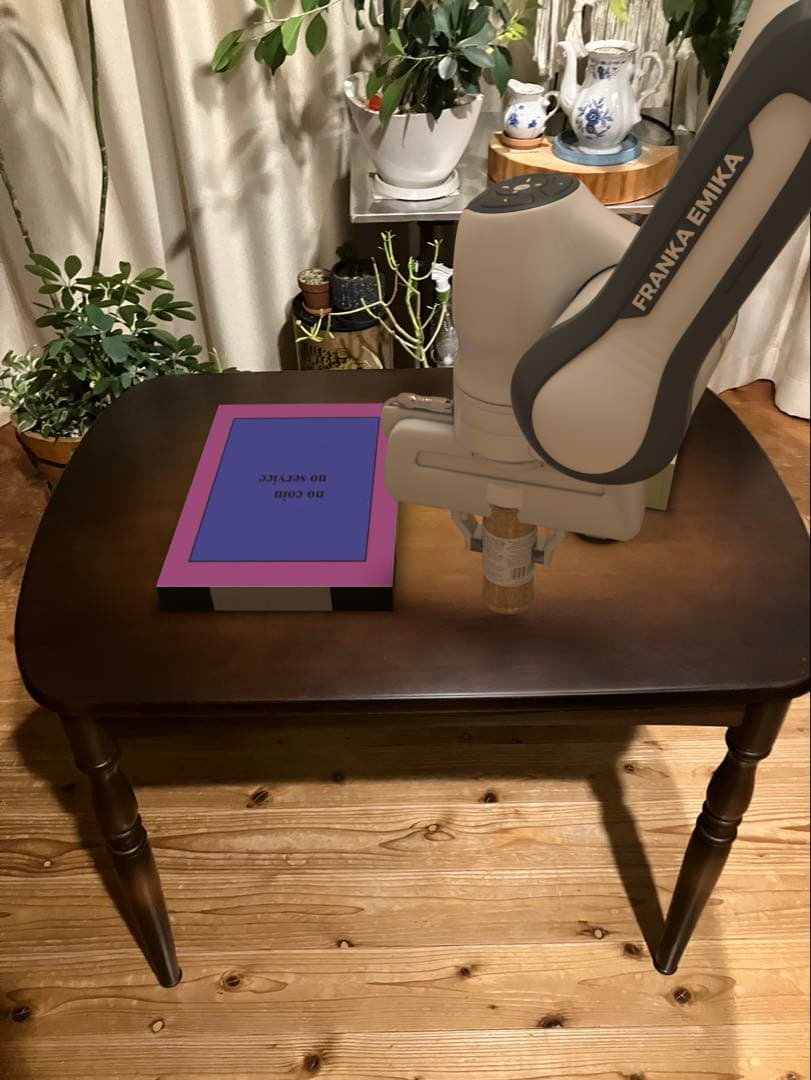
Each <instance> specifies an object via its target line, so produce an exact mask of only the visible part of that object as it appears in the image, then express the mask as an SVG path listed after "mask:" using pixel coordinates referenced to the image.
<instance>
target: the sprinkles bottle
mask: <svg viewBox="0 0 811 1080" xmlns="http://www.w3.org/2000/svg"><path fill="white" fill-rule="evenodd" d="M487 501H488V502H490V503H491V504H493V505H491V504H489V506H490V507H491V509H492V513H491V515H490V517H486V516H482V553H481V559H482V560H481V565H482V566H481V568H482V589H481V600H482V602H483V603H484V605H485V606H486V607H487V608H488V609H489V610H491V611H492V612H494V613H497V614H502V615H516V614H519V613H521V612H524V611H526V610H527V609H529V607H531V605H532V604H533V602H534V600H535V591H534V582H535V581H534V580H535V578H534V576H535V574H536V563H534V562H532V557H533V555H532V550H533V546H534V544H535V543H536V540H537V535H538V526H537V525H531V524H525V523H520V522H519V520H518V517H517V513H518V512H519V510H518V509H517V508H518V507H522V505H523V490H522V489H521V488H518V487H514V486H508V485H502V484H494V483H490V484H488V485H487Z"/></svg>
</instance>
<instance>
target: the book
mask: <svg viewBox="0 0 811 1080" xmlns="http://www.w3.org/2000/svg"><path fill="white" fill-rule="evenodd" d="M384 403H385V402H378V403H377V402H373V403H372V402H371V403H370V402H369V403H364V402H363V403H362V402H361V403H360V402H359V403H274V404H273V403H267V404H266V403H264V404H263V403H260V404H259V403H255V404H244V403H243V404H219V405H218V407H217V410H216V413H215V416H214V419H213V422H212V424H211V427H210V429H209V433H208V436H207V438H206V442H205V445H204V447H203V451H202V453H201V456H200V458H199V462H198V465H197V468H196V470H195V473H194V477H193V479H192V483H191V485H190V488H189V491H188V493H187V497H186V500H185V502H184V505H183V508H182V511H181V514H180V517H179V520H178V523H177V526H176V529H175V531H174V534H173V536H172V539H171V543H170V545H169V547H168V552H167V555H166V558H165V560H164V563H163V566H162V569H161V572H160V574H159V576H158V577H159V578H158V580H157V583H156V590H157V595H158V598H159V601H160V604H161V609H162V611H165V612H166V611H167V612H168V611H169V612H170V611H171V612H172V611H175V612H176V611H177V612H179V611H191V612H193V611H194V612H196V611H198V612H199V611H201V612H202V611H203V612H205V611H208V612H209V611H211V612H212V611H214V612H215V611H216V612H217V611H219V612H220V611H222V612H223V611H227V612H231V611H232V612H234V611H235V612H236V611H237V612H238V611H239V612H241V611H242V612H243V611H245V612H247V611H248V612H251V611H252V612H253V611H254V612H255V611H256V612H258V611H259V612H262V611H264V612H266V611H267V612H269V611H270V612H274V611H275V612H276V611H277V612H279V611H281V612H288V611H289V612H292V611H293V612H298V611H299V612H345V611H346V612H361V611H362V612H394V610H395V593H396V575H397V558H398V544H399V543H398V542H399V541H398V540H399V526H400V525H399V524H400V508H401V507H400V506H401V502H400V501H396V500H394V499H393V498H392V497H391V496H390V494H389V493H388V492H387V491H386V489H385V486H384V467H385V455H386V448H387V442H388V438H387V437H386V436H385V434H384V432H383V428H382V416H381V411H382V407H383V405H384Z"/></svg>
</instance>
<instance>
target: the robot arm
mask: <svg viewBox="0 0 811 1080" xmlns="http://www.w3.org/2000/svg"><path fill="white" fill-rule="evenodd" d="M810 213H811V0H752V2H751V5H750V7H749V10H748V12H747V15H746V18H745V20H744V23H743V26H742V27H741V31H740V33H739V36H738V38H737V41H736V43H735V46H734V48H733V50H732V53H731V55H730V57H729V60H728V63H727V65H726V68H725V70H724V72H723V75H722V77H721V80H720V82H719V84H718V87H717V89H716V91H715V94H714V96H713V98H712V101H711V103H710V105H709V107H708V109H707V111H706V113H705V116H704V118H703V120H702V122H701V124H700V126H699V128H698V130H697V132H696V134H695V136H694V138H693V140H692V142H691V143H690V145H689V146H688V148H687V150H686V152H685V153H684V155H683V157H682V158H681V160H680V162H679V163H678V165H677V167H676V169H675V170H674V172H673V173H672V175H671V177H670V178H669V180H668V182H667V183H666V185H665V186H664V188H663V190H662V191H661V193H660V194H659V196H658V198H657V200H655V203H654V204H653V206H652V207H651V209H650V211H649V212H648V214H647V215H646V218H645V219H644V220H643V222H642V223H641V226H639V225H637V224H636V223H633V222H632V221H629V220H627V219H626V218H624V217H622V216H621V215H619V214H617V213H616V212H614V211H613V210H612V209H610V208H609V207H607V206H606V205H604V204H603V203H602V202H601V201H600V200H598V199H597V197H596V196H595V195H594V194H593V192H592V191H591V190H590V189H589V188H588V186H587V185H586V184H585V183H584V182H583V181H582V180H581V179H579V178H578V177H575V176H573V175H569V174H564V173H561V172H554V171H553V172H550V171H549V172H533V173H525V174H520V175H516V176H512V177H510V178H507V179H504V180H499V181H498V182H496V183H493V184H492V185H490V186H489V187H487V188H486V189H484V190H482V191H481V192H479V193H478V194H477V195H476V196H475V197H474V198H473V199H471V200H470V201H469V203H467V205H466V206H465V207H464V208H463V210H462V212H461V214H460V217H459V220H458V224H457V229H456V234H455V241H454V249H453V250H454V251H453V262H452V279H451V281H452V282H451V319H452V325H453V328H454V330H455V333H456V337H457V342H458V343H457V344H458V346H457V353H456V356H455V358H454V361H453V367H452V392H453V393H452V394H453V395H452V397H453V398H448V397H442V396H425V395H418V394H416V393H413V392H400V393H399V394H398V396H394V397H391V398H389V399H387V400H386V401H385V402H383V403H384V405H383V407H382V411H381V416H382V428H383V432H384V434H385V436H386V437H387V438H388V442H387V448H386V455H385V467H384V486H385V489H386V491H387V492H388V493H389V494H390V496H391V497H392V498H393V499H394V500H396V501H400V503H407V504H412V505H419V506H423V507H428V508H435V509H441V510H446V511H450V519H451V520H452V522H453V523H454V525H455V526H456V527H457V529H458V530H459V531H460V533H461V534H462V535H463V536H464V550H465V551H470V552H475V553H480V554H482V524H481V523H479V522H478V520H477V518H476V517H475V516H481V517H483V516H486V517H490V515H491V513H492V509H491V507H490V506H489V504H491V503H490V502H488V501H487V485H488V484H490V483H494V484H502V485H508V486H514V487H518V488H521V489H522V490H523V505H522V507H518V508H517V509H518V510H519V512H518V513H517V517H518V520H519V522H520V523H525V524H531V525H537V527H542V528H547V535H543V534H537V540H536V543H535V544H534V546H533V550H532V555H533V557H532V562H534V563H535V564H538V565H544V566H549V567H550V566H551V564H552V561H553V558H554V555H555V549H557V547H558V546H559V545H561V544H562V543H563V542H564V540H566V538H567V535H568V532H572V533H576V534H582V535H584V534H588V535H593V536H599V537H605V538H607V539H611V540H616V541H622V542H628V541H630V540H632V539H633V538H634V537H636V536H637V535H638V534H639V533H640V532H641V529H642V525H643V522H644V516H645V512H646V507H645V506H646V498H647V479H649V478H651V477H653V476H655V475H657V474H658V473H660V472H661V471H662V470H664V469H665V468H666V467H667V466H668V465H669V464H670V463H671V462H672V460H673V459H674V457H675V456H676V454H677V455H678V453H679V451H680V448H681V446H682V443H683V441H684V439H685V436H686V433H687V431H688V429H689V427H690V423H691V419H692V416H693V414H694V413H695V410H696V408H697V406H698V404H699V402H700V401H701V399H702V397H703V394H704V393H705V391H706V389H707V387H708V385H709V382H710V381H711V379H712V376H713V375H714V373H715V371H716V369H717V368H718V365H719V363H720V361H721V360H722V358H723V356H724V354H725V352H726V349H727V347H728V345H729V342H730V340H731V339H732V337H733V335H734V333H735V330H736V327H737V323H738V319H739V312H740V310H741V309H742V306H743V305H744V304H745V302H746V301H747V300H748V298H749V297H750V296H751V294H752V293H753V292H754V290H755V289H756V287H757V286H758V285H759V283H760V282H761V280H762V279H763V278H764V276H765V275H766V273H767V272H768V271H769V269H770V268H771V266H772V265H773V264H774V263H775V261H776V260H777V258H778V257H779V256H780V254H781V253H782V251H783V250H784V248H785V247H786V246H787V244H788V243H789V242H790V240H791V239H792V238H793V236H794V235H795V234H796V233H797V231H798V229H799V228H800V227H801V226H802V224H803V223H804V221H805V220H806V219H807V217H808V216H809V215H810ZM677 452H678V453H677ZM491 505H493V504H491Z"/></svg>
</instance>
